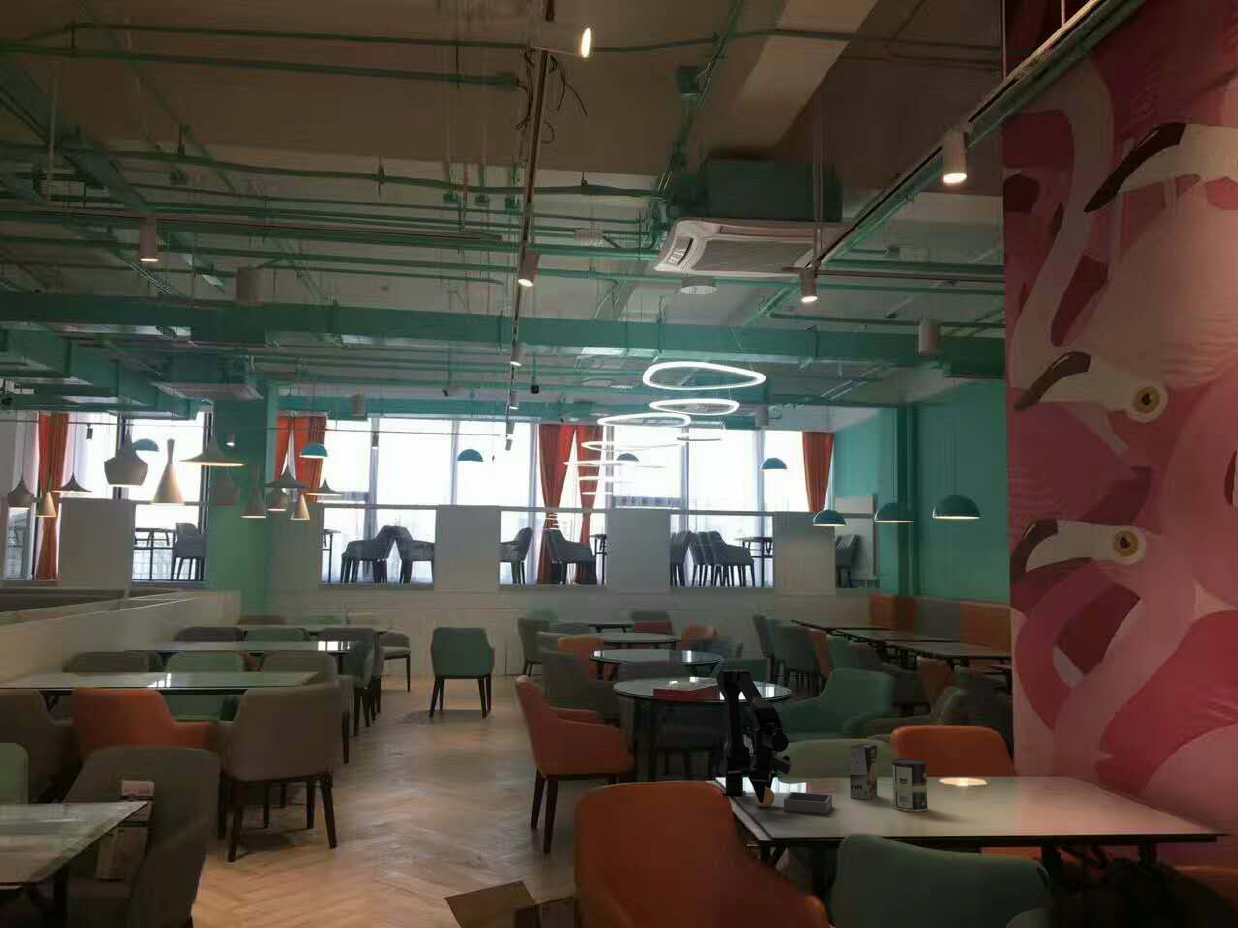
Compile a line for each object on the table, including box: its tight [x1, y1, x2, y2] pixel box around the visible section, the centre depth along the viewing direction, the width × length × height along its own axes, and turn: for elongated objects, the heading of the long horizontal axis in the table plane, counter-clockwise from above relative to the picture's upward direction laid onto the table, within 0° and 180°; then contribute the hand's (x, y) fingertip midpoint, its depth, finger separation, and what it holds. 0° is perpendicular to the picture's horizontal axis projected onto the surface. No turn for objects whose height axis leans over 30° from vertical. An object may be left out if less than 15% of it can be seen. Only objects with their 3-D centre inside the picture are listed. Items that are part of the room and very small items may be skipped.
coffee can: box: [891, 758, 928, 813], centre depth 309 cm, size 10×10×14 cm
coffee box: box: [849, 743, 878, 800], centre depth 326 cm, size 9×6×16 cm
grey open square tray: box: [783, 791, 833, 816], centre depth 305 cm, size 13×13×4 cm
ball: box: [754, 787, 775, 808], centre depth 308 cm, size 6×6×6 cm
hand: (764, 799), depth 308 cm, fingers open, 9 cm apart
